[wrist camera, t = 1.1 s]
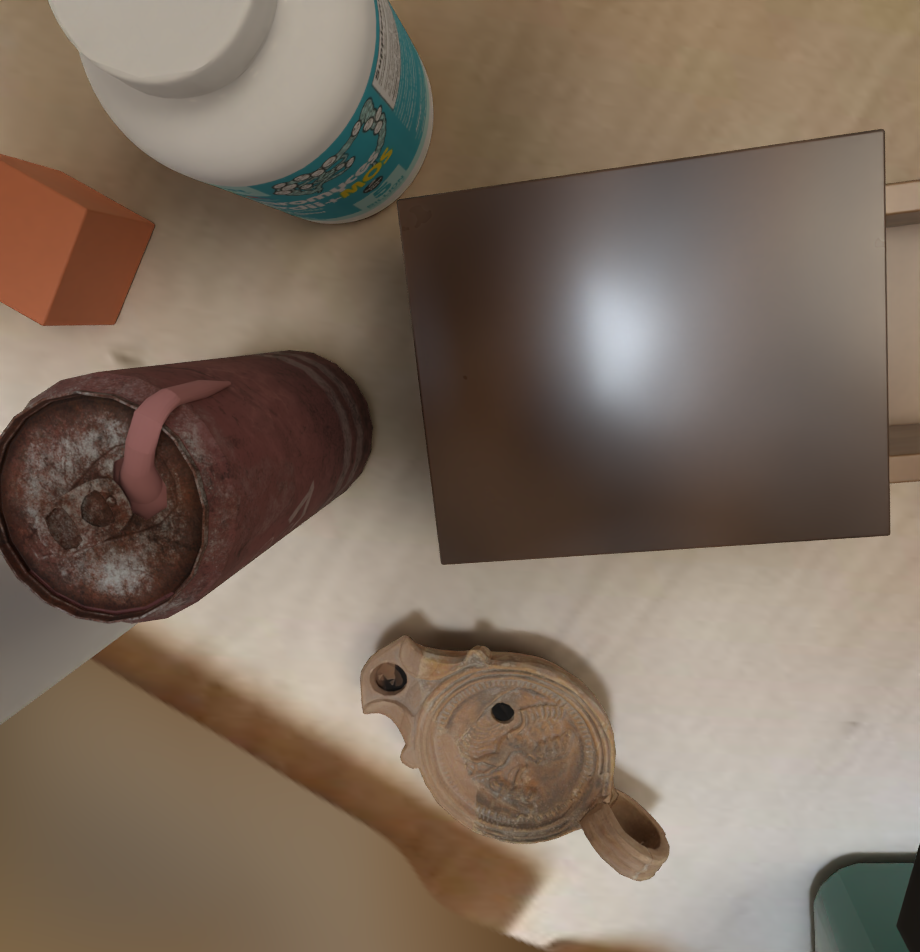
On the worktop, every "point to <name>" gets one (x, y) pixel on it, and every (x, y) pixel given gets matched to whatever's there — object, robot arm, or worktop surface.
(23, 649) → the bottle
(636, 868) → the oil lamp
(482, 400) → the cabinet
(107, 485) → the can
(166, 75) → the pill bottle
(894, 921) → the green flask
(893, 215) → the drawer
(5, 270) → the block
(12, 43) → the worktop surface
